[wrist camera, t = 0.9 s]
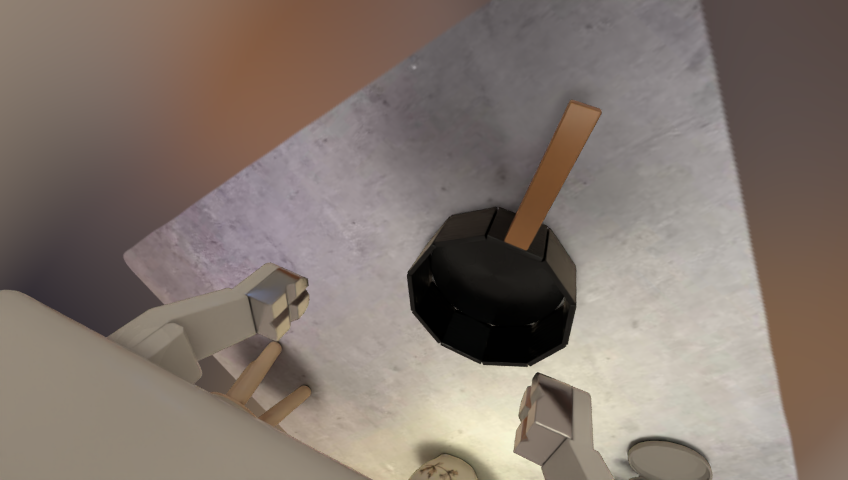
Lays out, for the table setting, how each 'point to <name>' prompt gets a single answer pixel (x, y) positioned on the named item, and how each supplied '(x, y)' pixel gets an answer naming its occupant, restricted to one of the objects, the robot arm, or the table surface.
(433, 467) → the white floral bowl
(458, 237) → the saucepan
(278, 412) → the planter
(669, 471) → the pocket watch
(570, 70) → the table surface
